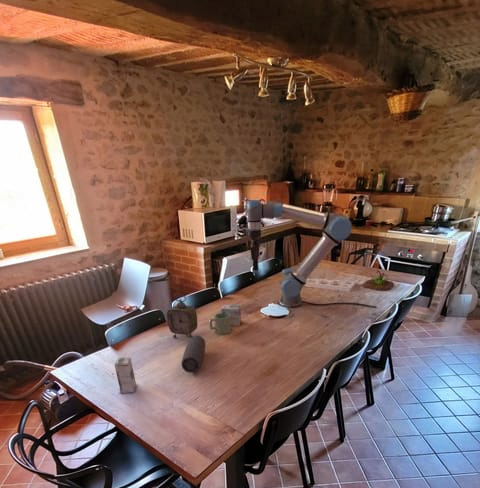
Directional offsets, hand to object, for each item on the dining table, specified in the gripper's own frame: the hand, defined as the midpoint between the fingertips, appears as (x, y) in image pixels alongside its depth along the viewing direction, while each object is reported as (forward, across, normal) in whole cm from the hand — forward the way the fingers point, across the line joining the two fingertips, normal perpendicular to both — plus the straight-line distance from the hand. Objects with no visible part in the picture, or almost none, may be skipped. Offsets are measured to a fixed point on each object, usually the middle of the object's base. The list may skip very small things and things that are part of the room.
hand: (255, 270), depth 219 cm
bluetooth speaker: (+27, +73, -8) cm, 78 cm away
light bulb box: (+27, +23, -8) cm, 36 cm away
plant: (+27, -67, +72) cm, 102 cm away
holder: (+27, -63, +33) cm, 76 cm away
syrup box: (+27, +102, -26) cm, 109 cm away
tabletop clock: (+27, +47, -27) cm, 60 cm away
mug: (+26, +35, -10) cm, 45 cm away
